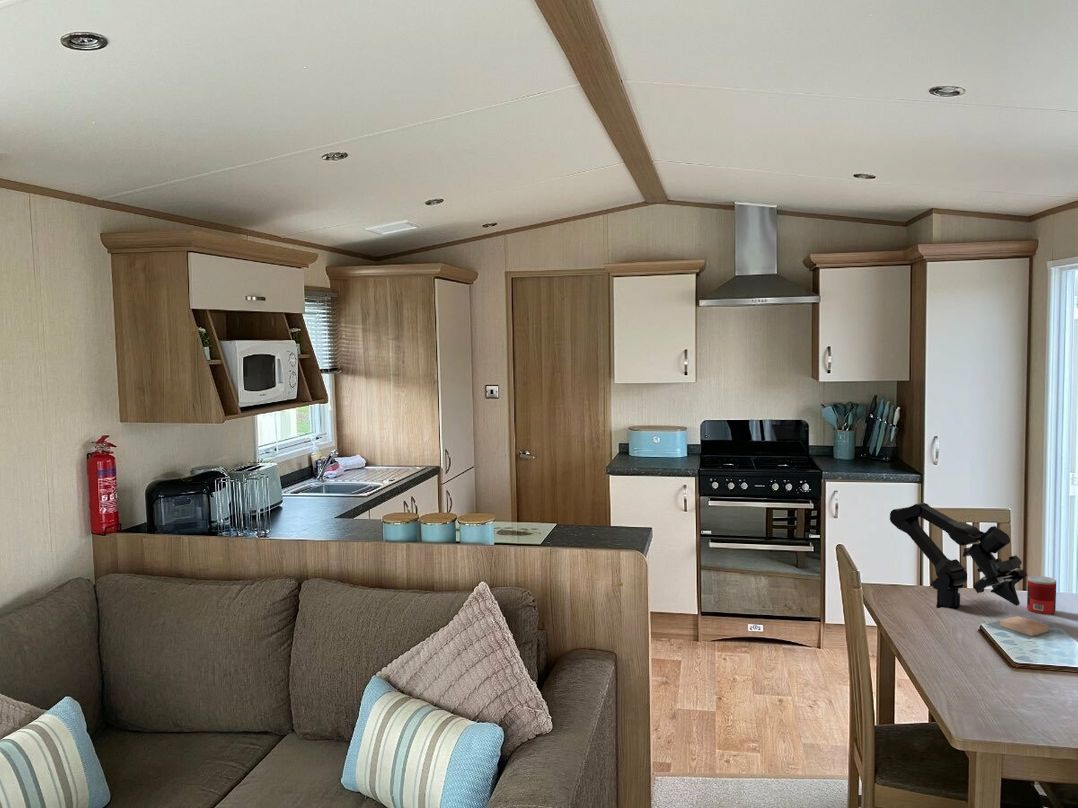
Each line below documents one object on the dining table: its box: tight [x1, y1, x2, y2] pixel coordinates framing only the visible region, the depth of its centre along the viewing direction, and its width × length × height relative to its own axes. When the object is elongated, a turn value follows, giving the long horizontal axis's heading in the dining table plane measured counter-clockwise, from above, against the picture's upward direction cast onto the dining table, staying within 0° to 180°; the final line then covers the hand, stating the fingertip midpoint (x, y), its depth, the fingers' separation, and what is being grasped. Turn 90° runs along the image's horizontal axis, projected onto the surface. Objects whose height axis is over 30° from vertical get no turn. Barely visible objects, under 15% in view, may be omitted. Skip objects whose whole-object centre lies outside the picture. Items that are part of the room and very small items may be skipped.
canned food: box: [1026, 575, 1057, 616], centre depth 273 cm, size 8×8×11 cm
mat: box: [985, 620, 1054, 639], centre depth 258 cm, size 14×12×1 cm
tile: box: [999, 615, 1050, 637], centre depth 257 cm, size 2×8×10 cm
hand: (1018, 604), depth 258 cm, fingers closed
